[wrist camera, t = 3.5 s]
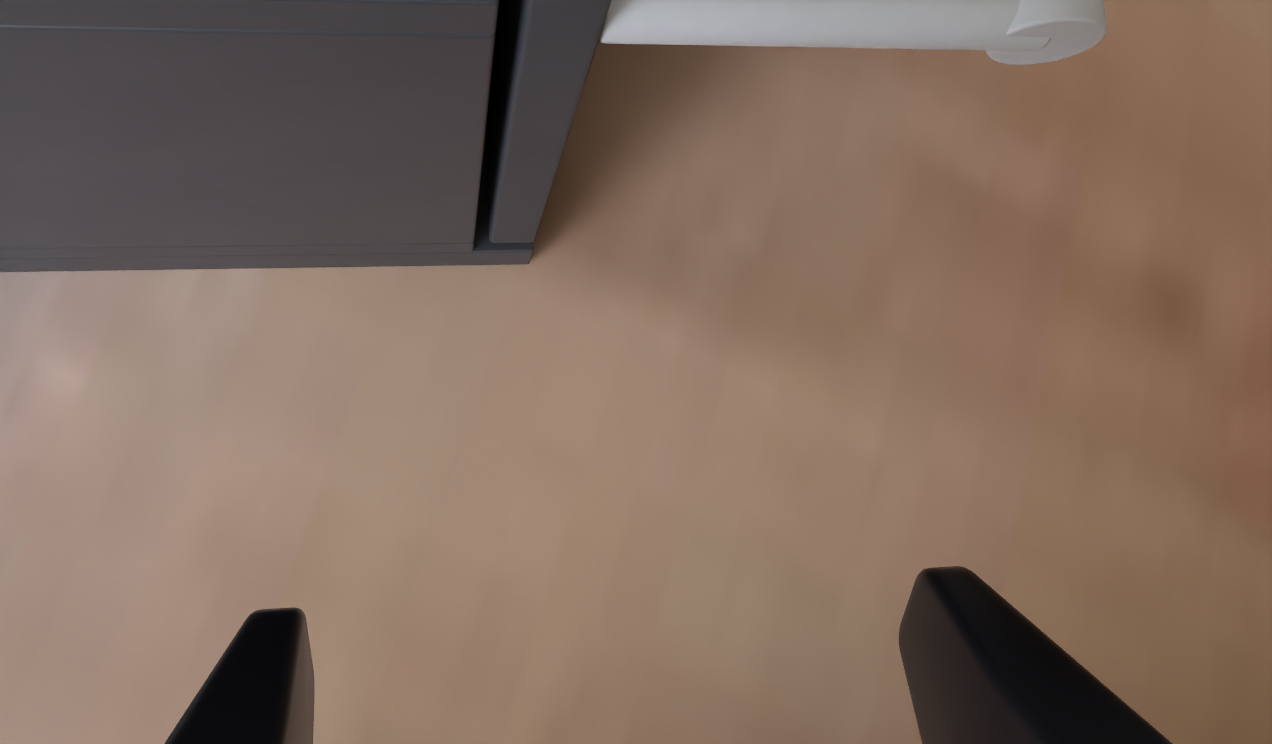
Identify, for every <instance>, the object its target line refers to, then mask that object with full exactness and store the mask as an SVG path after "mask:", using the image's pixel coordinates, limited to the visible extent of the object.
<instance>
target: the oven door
mask: <svg viewBox="0 0 1272 744" xmlns="http://www.w3.org/2000/svg"><path fill="white" fill-rule="evenodd" d="M1106 31H1107V25H1106V15H1105V5H1104V0H499V5H498V15H497V25H496V31H495V43H494V52H493V62H492V72H491V82H490V92H489V101H488V111H487V121H486V131H485V142H486V170H487V197H488V225H489V240H490V242H492V243H531V242H533V241H534V239H535V236H536V233H537V230H538V227H539V224H540V221H541V218H542V215H543V212H544V208H545V205H546V202H547V199H548V196H549V193H550V190H551V187H552V184H553V181H554V177H555V174H556V171H557V168H558V165H559V162H560V159H561V156H562V153H563V149H564V146H565V143H566V140H567V137H568V134H569V131H570V128H571V125H572V122H573V118H574V115H575V112H576V109H577V106H578V103H579V100H580V97H581V94H582V91H583V87H584V84H585V81H586V78H587V75H588V72H589V69H590V66H591V63H592V59H593V56H594V53H595V50H596V47H597V44H598V41H599V42H601V43H608V44H663V45H719V46H775V47H831V48H886V49H942V50H986V53H987V55H988V56H989V57H990V58H991V59H992V60H994V61H996V62H1000V63H1005V64H1013V65H1029V64H1040V63H1046V62H1052V61H1056V60H1061V59H1064V58H1068V57H1071V56H1074V55H1076V54H1079V53H1081V52H1084V51H1086V50H1088V49H1090V48H1092V47H1093V46H1095V45H1096V44H1098V43H1099V42H1100V41H1101V40H1102V39H1103V38H1104V36H1105V34H1106Z"/></svg>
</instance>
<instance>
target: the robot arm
mask: <svg viewBox="0 0 1272 744" xmlns="http://www.w3.org/2000/svg"><path fill="white" fill-rule="evenodd" d="M899 646H900V653H901V657H902V661H903V665H904V670H905V674H906V678H907V682H908V686H909V690H910V694H911V699H912V703H913V707H914V711H915V715H916V719H917V723H918V727H919V732H920V736H921V740H922V744H1172V743H1171V742H1170V741H1169V740H1168V739H1166V738H1165V737H1164V736H1163V735H1162V734H1161V733H1159V732H1158V731H1157V730H1156V729H1155V728H1154V727H1152V726H1151V725H1150V724H1149V723H1148V722H1147V721H1145V720H1144V719H1143V718H1142V717H1141V716H1140V715H1138V714H1137V713H1136V712H1135V711H1134V710H1133V709H1131V708H1130V707H1129V706H1128V705H1127V704H1126V703H1125V702H1123V701H1122V700H1121V699H1120V698H1119V697H1118V696H1116V695H1115V694H1114V693H1113V692H1112V691H1111V690H1109V689H1108V688H1107V687H1106V686H1105V685H1104V684H1102V683H1101V682H1100V681H1099V680H1098V679H1097V678H1095V677H1094V676H1093V675H1092V674H1091V673H1090V672H1088V671H1087V670H1086V669H1085V668H1084V667H1083V666H1082V665H1080V664H1079V663H1078V662H1077V661H1076V660H1075V659H1073V658H1072V657H1071V656H1070V655H1069V654H1068V653H1066V652H1065V651H1064V650H1063V649H1062V648H1061V647H1059V646H1058V645H1057V644H1056V643H1055V642H1054V641H1052V640H1051V639H1050V638H1049V637H1048V636H1047V635H1045V634H1044V633H1043V632H1042V631H1041V630H1040V629H1039V628H1037V627H1036V626H1035V625H1034V624H1033V623H1032V622H1030V621H1029V620H1028V619H1027V618H1026V617H1025V616H1023V615H1022V614H1021V613H1020V612H1019V611H1018V610H1016V609H1015V608H1014V607H1013V606H1012V605H1011V604H1009V603H1008V602H1007V601H1006V600H1005V599H1004V598H1003V597H1001V596H1000V595H999V594H998V593H997V592H996V591H994V590H993V589H992V588H991V587H990V586H989V585H987V584H986V583H985V582H984V581H983V580H982V579H980V578H979V577H978V576H977V575H976V574H975V573H973V572H972V571H970V570H968V569H967V568H964V567H959V566H954V567H937V568H927V569H924V570H923V571H921V572H920V573H919V574H918V576H917V578H916V580H915V583H914V586H913V589H912V592H911V595H910V598H909V601H908V604H907V607H906V610H905V613H904V616H903V618H902V621H901V625H900V630H899ZM313 721H314V671H313V664H312V657H311V650H310V643H309V637H308V630H307V623H306V617H305V614H304V612H303V611H302V610H301V609H299V608H279V609H263V610H257V611H255V612H253V613H252V614H250V615H249V616H248V618H247V619H246V620H245V622H244V623H243V625H242V626H241V628H240V629H239V631H238V632H237V634H236V635H235V637H234V639H233V640H232V642H231V643H230V645H229V646H228V648H227V649H226V651H225V652H224V654H223V655H222V657H221V658H220V660H219V661H218V663H217V664H216V666H215V667H214V669H213V671H212V672H211V674H210V675H209V677H208V678H207V680H206V681H205V683H204V684H203V686H202V687H201V689H200V690H199V692H198V693H197V695H196V696H195V698H194V699H193V701H192V702H191V704H190V706H189V707H188V709H187V710H186V712H185V713H184V715H183V716H182V718H181V719H180V721H179V722H178V724H177V725H176V727H175V728H174V730H173V731H172V733H171V734H170V736H169V737H168V739H167V741H166V742H165V744H313Z"/></svg>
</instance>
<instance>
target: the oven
mask: <svg viewBox="0 0 1272 744" xmlns="http://www.w3.org/2000/svg"><path fill="white" fill-rule="evenodd" d="M498 5H499V0H0V272H26V271H94V270H162V269H230V268H298V267H366V266H433V265H501V264H529V262H530V259H531V256H532V253H533V242H531V243H492V242H490V240H489V225H488V197H487V170H486V142H485V131H486V121H487V111H488V101H489V92H490V82H491V72H492V62H493V52H494V43H495V31H496V25H497V15H498Z"/></svg>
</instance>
